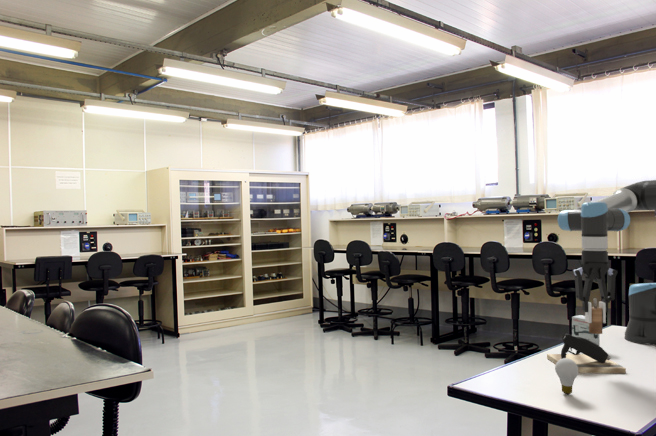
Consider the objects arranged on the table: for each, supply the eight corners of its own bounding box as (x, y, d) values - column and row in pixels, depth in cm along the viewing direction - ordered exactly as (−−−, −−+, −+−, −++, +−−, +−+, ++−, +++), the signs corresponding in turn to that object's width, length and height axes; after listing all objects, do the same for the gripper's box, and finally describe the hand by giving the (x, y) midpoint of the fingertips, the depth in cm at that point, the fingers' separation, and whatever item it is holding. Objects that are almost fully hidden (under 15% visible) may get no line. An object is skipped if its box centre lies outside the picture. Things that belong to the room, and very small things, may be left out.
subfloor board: (599, 358, 175) (599, 354, 175) (625, 373, 158) (625, 368, 158) (547, 358, 176) (547, 353, 176) (568, 372, 159) (567, 367, 159)
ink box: (571, 346, 193) (570, 315, 193) (580, 345, 195) (579, 314, 195) (591, 351, 185) (591, 319, 185) (600, 350, 187) (600, 318, 187)
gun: (600, 380, 164) (614, 353, 164) (555, 357, 165) (569, 330, 165) (596, 377, 167) (610, 350, 167) (552, 354, 168) (566, 328, 168)
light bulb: (558, 389, 143) (558, 354, 143) (581, 393, 140) (580, 358, 140) (552, 395, 139) (552, 359, 139) (575, 399, 135) (575, 362, 135)
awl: (604, 334, 159) (604, 299, 159) (592, 333, 159) (592, 299, 160) (598, 331, 163) (598, 297, 163) (586, 331, 163) (586, 297, 163)
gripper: (614, 249, 165) (615, 320, 165) (563, 249, 166) (564, 319, 166) (627, 250, 158) (628, 324, 157) (573, 250, 158) (574, 324, 158)
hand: (595, 322), depth 161 cm, fingers closed on awl, 4 cm apart
